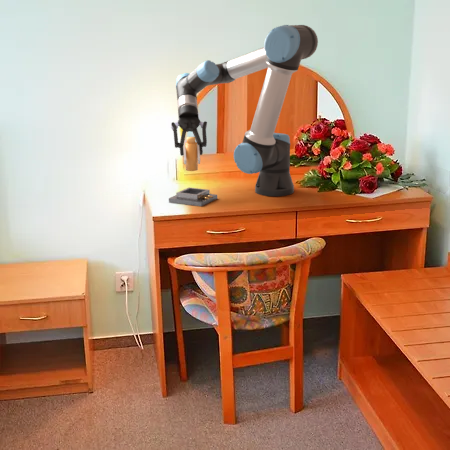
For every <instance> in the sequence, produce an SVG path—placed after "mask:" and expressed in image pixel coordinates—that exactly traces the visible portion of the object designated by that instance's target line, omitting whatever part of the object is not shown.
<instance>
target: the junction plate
mask: <svg viewBox="0 0 450 450" xmlns="http://www.w3.org/2000/svg"><path fill="white" fill-rule="evenodd" d="M215 200H218V194H215V193H210V189H205V188H198V187H197V188H195V187H187V188H184V189H183V190H180V191H177V192H176V194H175V195H173V196H171V197H169V198H168V202H169V203H173V204H180V205H186V206H187V205H189V206H195V207H203V206H205V205H208V204H209V203H211V202H213V201H215Z"/></svg>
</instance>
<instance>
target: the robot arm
mask: <svg viewBox="0 0 450 450" xmlns="http://www.w3.org/2000/svg"><path fill="white" fill-rule="evenodd" d="M263 43H264V44H263V47H260V48H258V49H255V50H253V51H250V52H248V53H245V54H242V55H239V56H237V57H235V58H234V57H233V58H232V59H229V60H227V61H224V62H221V63H217V64H216V63H215V62H214V61H211V60H208V59H207V60H205V61H203V62H202V63H200V64H199V65H198V66H197V67H196V68H194V70H193V71H191V72H190V73H189V72H185V73H183V74H179V75H178V76H177V78H176V80H175V81H176V82H175V90H176V98H177V99H176V100H177V111H178V112H177V114H178V120H177V121H176V122H174V121H173V122H171V127H170V128H171V130H172V131H173V140H174V148H175V149H178V148H179V152H180V154H179V155H180V156H182V157H183V164H184V165H186V148H185V142H186V141H185V140H186V134H187V133H188V132H192V133H193V137H195V142H197V159H198V164H201V156H202V155H203V151H204V150H203V148H204V147H205V148H206V147H207V143H208V142H207V126H208V122H207V121H206V120H205V121H204V122H203V121H201V120H200V118H199V109H198V108H199V106H198V97H197V95H198V94H199V93H200V92H201V91H202V90H203V89H205V88H206V87H208V86H214V85H221V84H229V83H232V82H234V81H235V80H238V79H239V78H243V77H245V76H248V75H252V74H255V73H256V72H259V71H263V70H265V69H267V70H266V72H265V73H266V74H265V78H264V81H263V84H262V88H261V91H260V95H259V98H258V102H257V105H256V108H255V109H256V110H255V112H254V116H253V119H252V122H251V123H252V124H251V126H250V129H249V130H246V131H245V132H244V135H243V140H242V142H241V143H239V144H237V146H236V147H235V149H234V151H233V160H234V163H235V164H236V166H237V169H238V170H240V171H241V172H243V173H245V174H249V175H253V174H257V173H258V177H257V178H256V182H255V186H254V193H255V194H258V195H260V196H265V197H284V196H288V195H289V196H290V195H292V194H293V193H294V192H295V185H294V182H293V179H292V178H293V177H292V176H291V173H290V171H291V169H290V168H291V166H290V165H291V162H290V161H291V140H290V139H291V137H290V135H289V134H288V133H287V134H286V133H279V132H275V131H276V127H277V124H278V121H279V118H280V115H281V112H282V108H283V105H284V102H285V98H286V95H287V92H288V88H289V85H290V82H291V79H292V76H293V74H294V73H296V72H298V70H299V68H300V64H301V61H302V60H307V59H308V58H310V57H311V56H313V55H314V53H315V52H316V50H317V48H318V43H319V40H318V35H317V33H316V31H315V30H314V29H313V28H312V27H310V26H308V25H305V24H292V25H289V24H283V25H280V26H279V25H278V26H276V27H274V28H272V29H271V30H270V31H269V32H268V34H266V37H265V39H264V42H263ZM198 127H200V129H202V131H201V132H202V133H201V135H202V140H201V136H200V134H199V131H198ZM178 128H180V129H181V137H180V141H179V138H178Z"/></svg>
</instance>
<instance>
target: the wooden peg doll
mask: <svg viewBox="0 0 450 450" xmlns="http://www.w3.org/2000/svg"><path fill="white" fill-rule="evenodd" d="M185 140H186V141H185V142H184V145H185V148H186V164H185V171H187V172H195V171H198V170H199V169H198V168H199V165H198V158H197V145H198V144H197V142H196V139H195V136H187V137H186V136H185Z"/></svg>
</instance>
